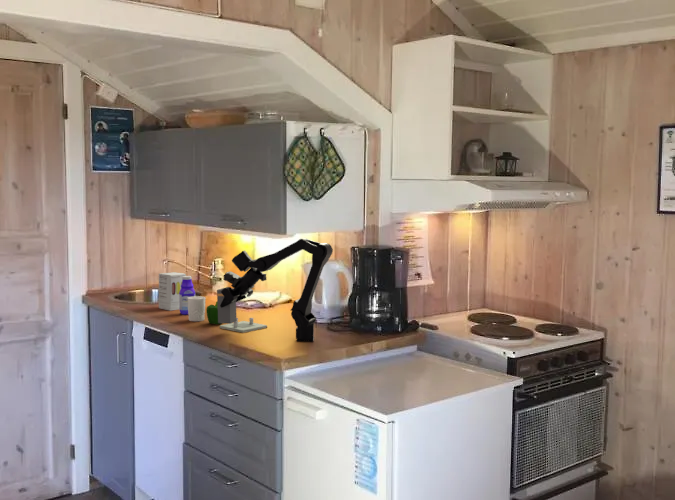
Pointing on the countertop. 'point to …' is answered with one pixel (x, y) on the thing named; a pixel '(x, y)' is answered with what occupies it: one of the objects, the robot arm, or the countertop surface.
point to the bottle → (185, 294)
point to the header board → (243, 326)
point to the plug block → (225, 310)
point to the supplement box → (170, 290)
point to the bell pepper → (212, 314)
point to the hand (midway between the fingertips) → (224, 305)
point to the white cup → (196, 308)
